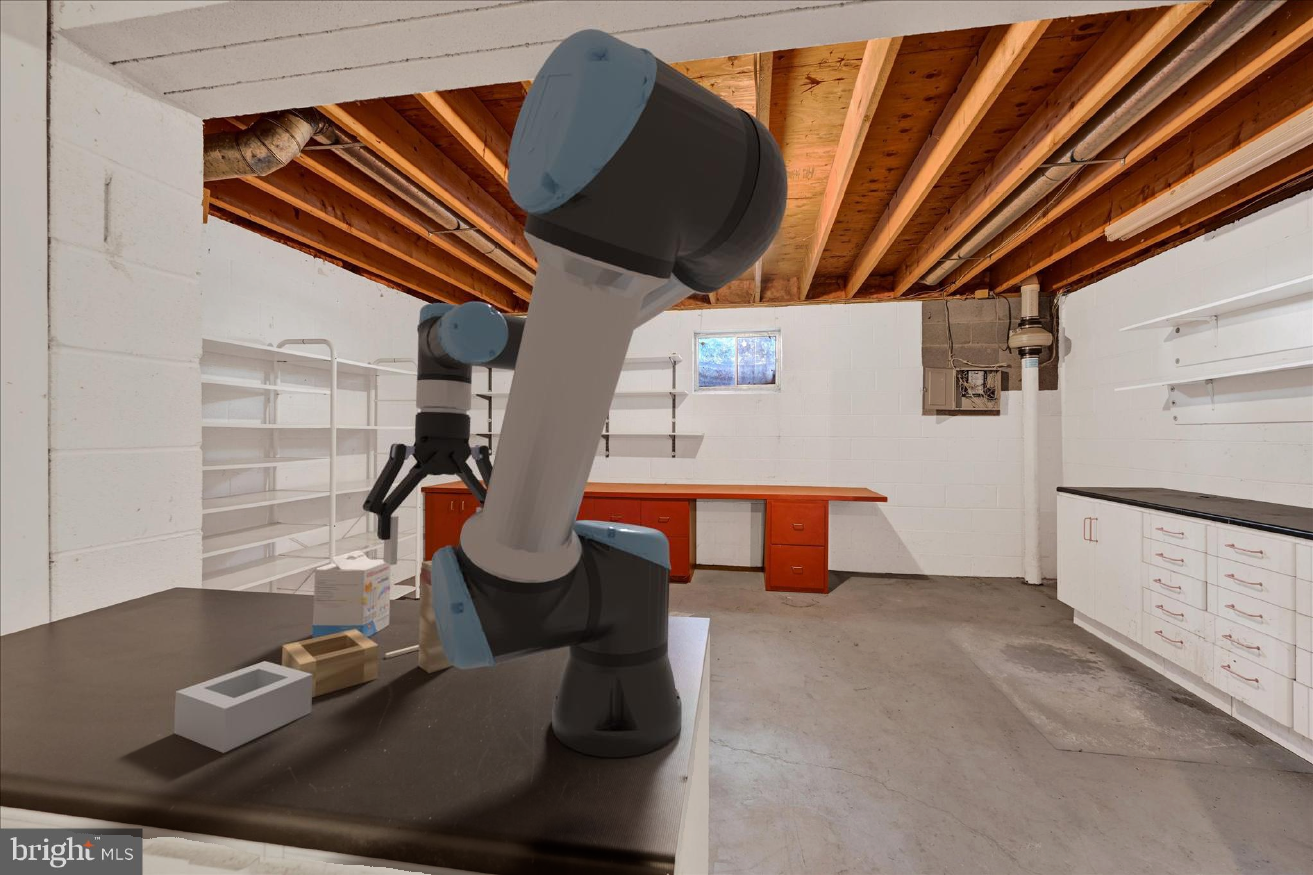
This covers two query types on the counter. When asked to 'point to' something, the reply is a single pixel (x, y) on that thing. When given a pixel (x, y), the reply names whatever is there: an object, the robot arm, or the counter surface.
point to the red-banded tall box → (429, 628)
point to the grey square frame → (242, 705)
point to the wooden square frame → (334, 660)
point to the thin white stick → (402, 651)
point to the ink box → (351, 596)
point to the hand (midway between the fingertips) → (438, 556)
